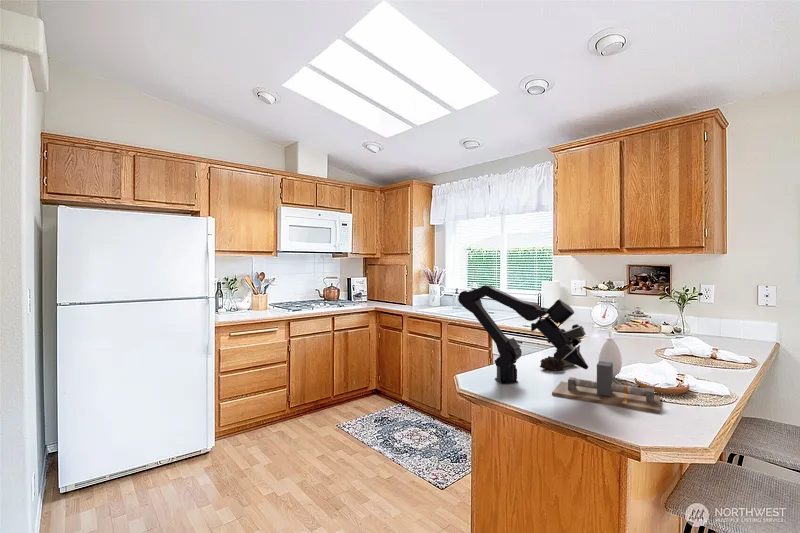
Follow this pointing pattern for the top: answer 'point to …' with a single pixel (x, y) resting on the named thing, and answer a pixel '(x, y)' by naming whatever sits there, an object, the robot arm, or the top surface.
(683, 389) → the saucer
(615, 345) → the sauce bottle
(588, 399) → the pipe board
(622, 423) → the top surface
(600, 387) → the grey upright block
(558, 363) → the dark elongated piece
